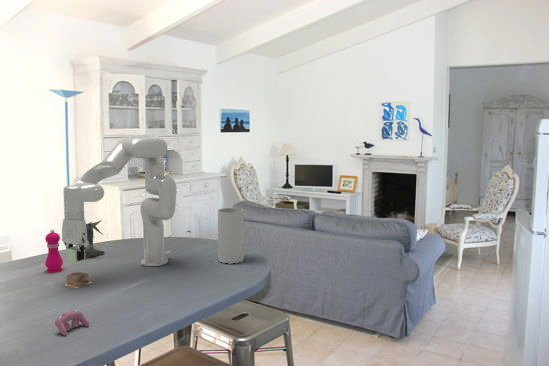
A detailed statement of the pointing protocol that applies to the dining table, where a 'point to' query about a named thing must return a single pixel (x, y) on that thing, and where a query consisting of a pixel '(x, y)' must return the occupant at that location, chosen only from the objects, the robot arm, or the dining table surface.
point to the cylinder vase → (230, 235)
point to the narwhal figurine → (91, 241)
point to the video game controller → (71, 315)
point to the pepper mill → (53, 253)
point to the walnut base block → (77, 278)
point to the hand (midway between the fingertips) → (75, 258)
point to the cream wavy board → (78, 286)
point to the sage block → (72, 254)
